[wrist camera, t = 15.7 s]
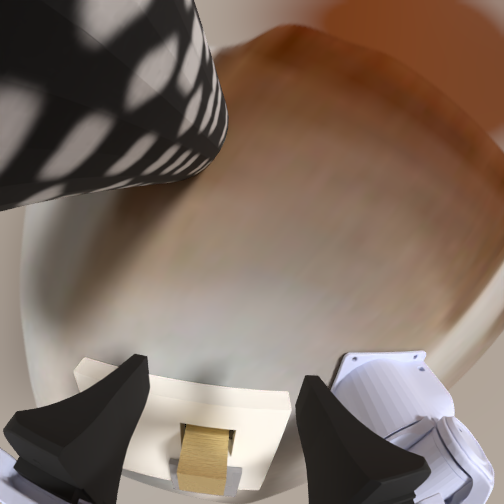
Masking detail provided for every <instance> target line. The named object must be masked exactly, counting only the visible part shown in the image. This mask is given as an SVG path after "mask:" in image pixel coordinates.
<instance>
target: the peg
mask: <svg viewBox="0 0 504 504" xmlns="http://www.w3.org/2000/svg"><path fill="white" fill-rule="evenodd" d="M228 441H229V429H220V428H212V427H204V426H197V425H191V424H187V425H186V429H185V434H184V439H183V444H182V449H181V453H180V458H179V463H178V468H177V478H178V484H179V490H185V491H191V492H197V493H205V494H213V495H224V489H225V484H226V477H227V458H228Z"/></svg>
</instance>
